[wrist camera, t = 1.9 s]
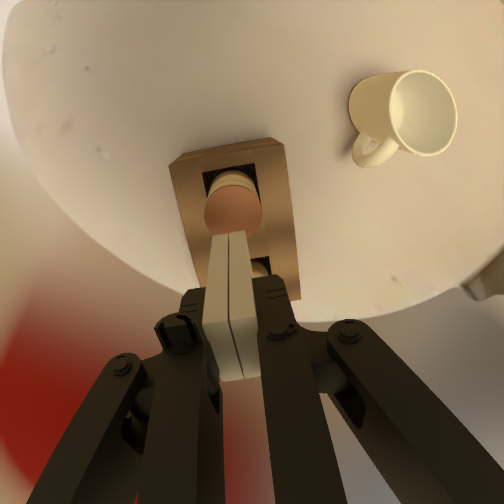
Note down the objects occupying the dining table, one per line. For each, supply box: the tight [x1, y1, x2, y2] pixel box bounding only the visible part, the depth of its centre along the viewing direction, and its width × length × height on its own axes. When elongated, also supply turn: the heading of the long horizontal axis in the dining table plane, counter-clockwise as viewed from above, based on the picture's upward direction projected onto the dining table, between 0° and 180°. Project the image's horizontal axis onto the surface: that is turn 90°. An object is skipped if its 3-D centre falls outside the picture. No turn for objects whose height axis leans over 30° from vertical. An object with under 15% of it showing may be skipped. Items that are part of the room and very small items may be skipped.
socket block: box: [169, 138, 301, 301], centre depth 31 cm, size 16×10×8 cm, turn 9°
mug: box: [349, 69, 458, 168], centre depth 26 cm, size 12×8×10 cm
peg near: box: [204, 167, 262, 239], centre depth 24 cm, size 4×4×8 cm
